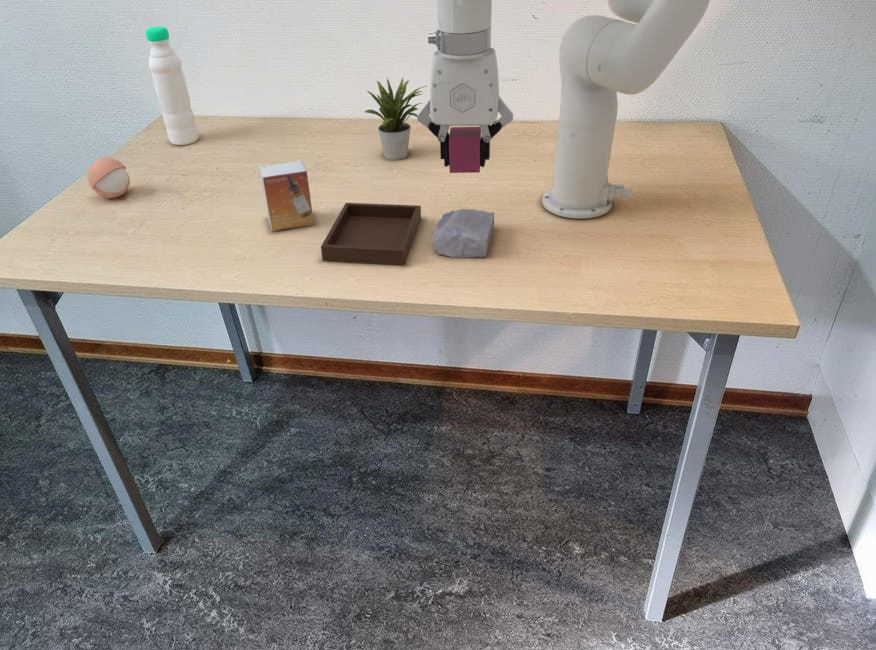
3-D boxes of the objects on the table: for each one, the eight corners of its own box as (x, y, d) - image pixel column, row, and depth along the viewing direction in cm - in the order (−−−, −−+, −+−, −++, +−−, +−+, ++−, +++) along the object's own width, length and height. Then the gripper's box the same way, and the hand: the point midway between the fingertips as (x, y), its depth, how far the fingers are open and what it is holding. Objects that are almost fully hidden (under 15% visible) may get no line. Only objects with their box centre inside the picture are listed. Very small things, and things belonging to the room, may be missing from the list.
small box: (271, 232, 121) (261, 177, 114) (268, 219, 125) (257, 165, 118) (314, 225, 122) (307, 170, 115) (310, 212, 126) (302, 159, 120)
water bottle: (169, 138, 162) (139, 26, 147) (198, 133, 164) (171, 22, 148) (170, 148, 157) (139, 33, 141) (200, 143, 158) (172, 29, 143)
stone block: (432, 265, 112) (491, 258, 109) (426, 239, 109) (486, 232, 106) (444, 234, 121) (498, 227, 118) (438, 210, 119) (493, 202, 115)
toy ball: (111, 207, 133) (97, 169, 128) (87, 199, 136) (73, 162, 131) (142, 192, 138) (131, 155, 133) (118, 185, 141) (106, 148, 136)
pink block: (480, 160, 108) (480, 126, 105) (479, 172, 105) (480, 137, 101) (451, 160, 109) (450, 127, 106) (449, 173, 105) (448, 138, 102)
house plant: (424, 171, 139) (422, 90, 129) (360, 170, 141) (352, 91, 131) (432, 145, 150) (431, 69, 139) (372, 145, 152) (367, 70, 142)
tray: (421, 219, 122) (420, 205, 120) (404, 265, 109) (403, 250, 107) (347, 216, 124) (345, 202, 122) (322, 261, 112) (320, 246, 110)
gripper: (401, 50, 93) (409, 172, 105) (523, 47, 90) (517, 174, 102) (410, 36, 99) (416, 153, 111) (526, 33, 96) (520, 154, 107)
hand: (465, 162), depth 106 cm, fingers closed on pink block, 5 cm apart
